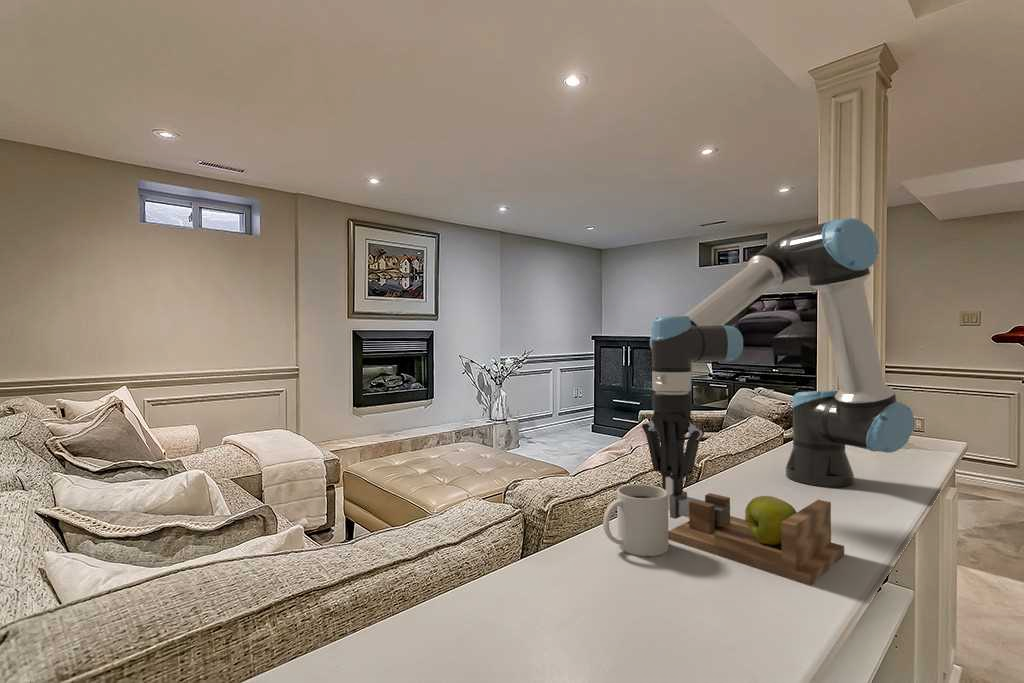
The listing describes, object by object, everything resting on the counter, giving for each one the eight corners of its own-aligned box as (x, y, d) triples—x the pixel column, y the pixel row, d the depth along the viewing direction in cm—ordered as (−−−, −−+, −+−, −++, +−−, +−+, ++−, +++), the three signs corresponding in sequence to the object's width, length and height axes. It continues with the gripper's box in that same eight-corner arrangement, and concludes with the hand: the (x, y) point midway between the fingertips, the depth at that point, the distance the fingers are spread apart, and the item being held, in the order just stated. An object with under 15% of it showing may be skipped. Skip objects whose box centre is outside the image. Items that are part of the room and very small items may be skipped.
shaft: (681, 512, 103) (681, 490, 103) (730, 525, 96) (730, 502, 96) (670, 517, 101) (669, 495, 101) (719, 531, 93) (719, 507, 93)
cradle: (710, 518, 105) (710, 477, 105) (844, 554, 87) (843, 505, 87) (668, 539, 94) (667, 493, 94) (809, 585, 76) (809, 529, 76)
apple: (732, 537, 91) (732, 493, 91) (774, 531, 93) (774, 488, 93) (765, 555, 83) (765, 507, 83) (810, 548, 86) (809, 501, 86)
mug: (669, 539, 94) (668, 486, 94) (667, 561, 85) (666, 502, 85) (610, 533, 98) (609, 481, 98) (602, 553, 89) (601, 496, 89)
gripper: (633, 391, 105) (634, 505, 105) (691, 396, 95) (692, 521, 95) (654, 388, 110) (655, 497, 110) (711, 393, 100) (712, 512, 100)
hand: (672, 508), depth 103 cm, fingers closed
